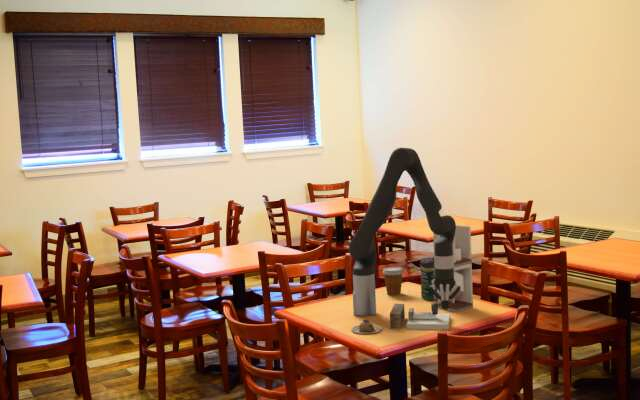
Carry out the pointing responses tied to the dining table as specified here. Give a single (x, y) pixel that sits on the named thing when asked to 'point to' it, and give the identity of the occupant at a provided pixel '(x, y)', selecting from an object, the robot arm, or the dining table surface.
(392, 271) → the disposable coffee cup
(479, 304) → the dining table surface
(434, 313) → the bolt
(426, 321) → the door board
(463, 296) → the display case
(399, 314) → the block
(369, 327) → the pastry
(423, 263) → the coffee jar
